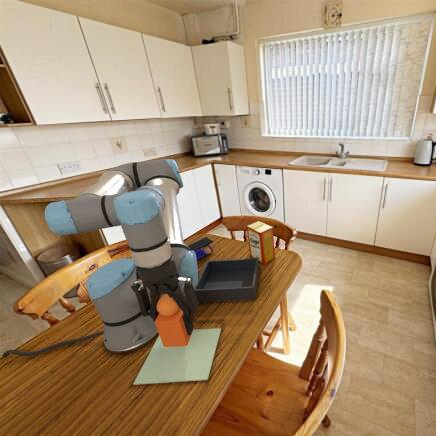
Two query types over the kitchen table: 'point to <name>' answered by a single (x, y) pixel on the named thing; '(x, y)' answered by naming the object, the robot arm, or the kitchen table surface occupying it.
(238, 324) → the kitchen table surface
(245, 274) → the basket
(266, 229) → the baking soda box
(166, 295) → the orange round-topped block
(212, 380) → the kitchen table surface
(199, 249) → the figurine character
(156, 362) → the mat
